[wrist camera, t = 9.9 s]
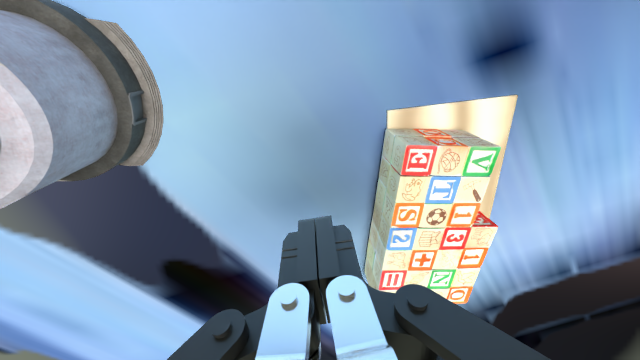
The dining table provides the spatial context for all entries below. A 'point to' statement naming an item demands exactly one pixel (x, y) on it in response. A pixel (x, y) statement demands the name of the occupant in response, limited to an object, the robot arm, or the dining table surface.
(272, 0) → the dining table surface
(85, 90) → the juicer
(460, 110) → the oak board
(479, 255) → the stack of blocks
